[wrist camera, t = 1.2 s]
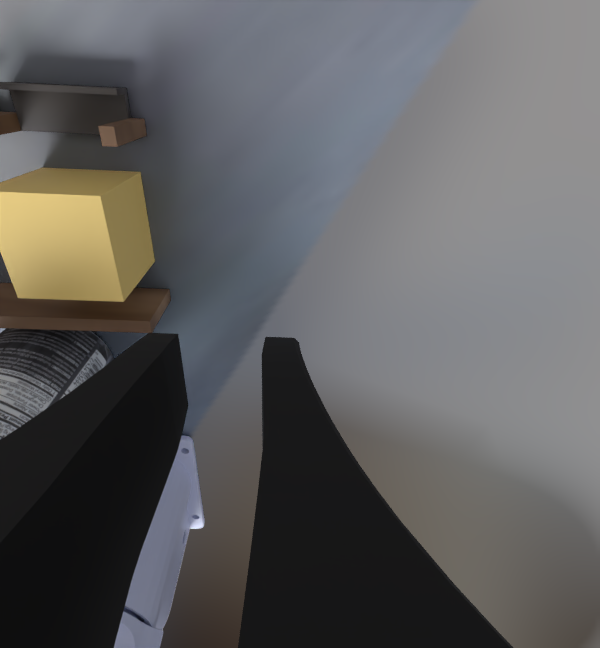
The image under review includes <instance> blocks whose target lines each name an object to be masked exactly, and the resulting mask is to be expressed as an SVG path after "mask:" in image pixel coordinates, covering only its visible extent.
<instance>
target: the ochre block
mask: <svg viewBox="0 0 600 648" xmlns="http://www.w3.org/2000/svg"><path fill="white" fill-rule="evenodd" d="M0 252H1V255H2V257H3V260H4V263H5V265H6V268H7V271H8V273H9V276H10V278H11V281H12V284H13V286H14V289H15V291H16V294H17V297H18V298H29V299H58V300H86V301H115V302H124V301H125V300H126V298H127V297H128V296H129V294H130V293H131V292H132V291H133V289H134V288H135V287H136V285H137V284H138V283H139V281H140V280H141V279H142V278H143V276H144V275H145V274H146V272H147V271H148V270H149V269H150V267H151V266H152V265H153V263H154V262H155V258H154V252H153V246H152V240H151V234H150V228H149V221H148V215H147V209H146V203H145V197H144V191H143V185H142V179H141V172H133V171H110V170H87V169H64V168H40V169H37V170H34V171H31V172H29V173H26V174H23V175H20V176H17V177H15V178H12V179H9V180H6V181H3V182H1V183H0Z"/></svg>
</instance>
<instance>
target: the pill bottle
mask: <svg viewBox="0 0 600 648" xmlns="http://www.w3.org/2000/svg"><path fill="white" fill-rule="evenodd" d="M112 360H114V357H113V355H112V353H111V351H110V350H109V348H108V347H107V346H106V344H105V343H104V342H103V341H102V340H101V339H100V338H99V337H98V336H97V335H95V334H94V333H93V332H91V331H75V330H46V329H16V328H6V329H5V330H4V331H3V332H1V333H0V440H1V439H2V438H4V437H5V436H7V435H8V434H10V433H11V432H13V431H15V430H16V429H18V428H19V427H21V426H22V425H23V424H25V423H26V422H28V421H29V420H31V419H32V418H34V417H35V416H37V415H38V414H39V413H41V412H42V411H44V410H45V409H47V408H48V407H50V406H51V405H52V404H54V403H55V402H57V401H58V400H60V399H61V398H63V397H64V396H66V395H67V394H68V393H70V392H71V391H73V390H74V389H75V388H77V387H78V386H79V385H81V384H82V383H83V382H85V381H86V380H87V379H89V378H90V377H91V376H93V375H94V374H95V373H97V372H98V371H99V370H101V369H102V368H103V367H105V366H106V365H107V364H109V363H110V362H111V361H112Z"/></svg>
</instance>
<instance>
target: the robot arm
mask: <svg viewBox="0 0 600 648" xmlns="http://www.w3.org/2000/svg"><path fill="white" fill-rule="evenodd" d="M187 409H188V401H187V394H186V387H185V380H184V373H183V366H182V359H181V352H180V345H179V338H178V334H161V333H149V334H147V335H146V336H144V337H143V338H141V339H140V340H139V341H137V342H136V343H135V344H133V345H132V346H131V347H129V348H128V349H127V350H125V351H124V352H123V353H122V354H120V355H119V356H118V357H116V358H115V359H114V360H112V361H111V362H110V363H109V364H107V365H106V366H105V367H103V368H102V369H101V370H99V371H98V372H97V373H95V374H94V375H93V376H91V377H90V378H89V379H87V380H86V381H85V382H83V383H82V384H81V385H79V386H78V387H77V388H75V389H74V390H73V391H71V392H70V393H68V394H67V395H66V396H64V397H63V398H61V399H60V400H58V401H57V402H55V403H54V404H52V405H51V406H50V407H48V408H47V409H45V410H44V411H42V412H41V413H39V414H38V415H37V416H35V417H34V418H32V419H31V420H29V421H28V422H26V423H25V424H23V425H22V426H21V427H19V428H18V429H16V430H15V431H13V432H11V433H10V434H8V435H7V436H5V437H4V438H2V439H1V440H0V648H160V644H161V640H162V636H163V630H162V629H163V627H164V625H165V623H166V621H167V618H168V615H169V613H170V609H171V605H172V600H173V596H174V592H175V588H176V584H177V580H178V575H179V571H180V567H181V563H182V559H183V554H184V550H185V546H186V542H187V538H188V534H189V529H200V528H202V527H203V526H204V522H205V519H204V512H203V505H202V498H201V491H200V485H199V477H198V471H197V463H196V456H195V449H194V442H193V439H192V438H191V437H189V436H182V431H183V427H184V423H185V418H186V413H187ZM262 422H263V423H262V424H263V425H262V428H263V429H262V431H263V452H262V461H261V471H260V478H259V488H258V496H257V504H256V512H255V521H254V529H253V538H252V545H251V553H250V561H249V569H248V576H247V584H246V591H245V600H244V607H243V614H242V622H241V630H240V637H239V645H238V648H513V647H512V646H511V645H510V644H509V643H508V642H507V641H506V640H505V639H504V637H503V636H502V635H501V634H500V633H499V632H498V631H497V630H496V629H495V628H494V627H493V626H492V625H491V624H490V623H489V621H488V620H487V619H486V618H485V617H484V616H483V615H482V614H481V613H480V612H479V611H478V609H477V608H476V607H475V606H474V605H473V604H472V603H471V602H470V601H469V600H468V599H467V598H466V597H465V596H464V594H463V593H461V591H460V590H459V589H458V588H457V587H456V586H455V585H454V583H453V582H452V581H451V580H450V579H449V578H448V577H447V575H446V574H445V573H444V572H443V571H442V569H441V568H440V567H439V566H438V565H437V563H436V562H435V561H434V560H433V559H432V558H431V556H430V555H429V554H428V553H427V552H426V550H425V549H424V548H423V547H422V546H421V544H420V543H419V542H418V541H417V540H416V539H415V538H414V536H413V535H412V534H411V533H410V531H409V530H408V529H407V528H406V527H405V526H404V525H403V523H402V522H401V521H400V520H399V518H398V517H397V516H396V514H395V513H394V512H393V510H392V509H391V508H390V507H389V505H388V504H387V502H386V501H385V500H384V498H383V497H382V496H381V495H380V493H379V492H378V491H377V489H376V488H375V486H374V485H373V484H372V482H371V481H370V479H369V478H368V477H367V475H366V474H365V472H364V471H363V470H362V468H361V467H360V465H359V464H358V462H357V461H356V459H355V458H354V456H353V455H352V453H351V452H350V450H349V448H348V447H347V445H346V443H345V442H344V440H343V438H342V437H341V435H340V433H339V432H338V430H337V429H336V427H335V425H334V423H333V422H332V420H331V418H330V416H329V414H328V413H327V411H326V409H325V407H324V405H323V403H322V401H321V399H320V397H319V395H318V393H317V391H316V389H315V387H314V385H313V383H312V380H311V378H310V376H309V373H308V371H307V368H306V366H305V363H304V360H303V357H302V354H301V351H300V347H299V342H298V341H297V340H296V339H295V338H281V337H266V338H265V342H264V347H263V352H262ZM185 448H186V449H185Z"/></svg>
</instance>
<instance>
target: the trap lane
mask: <svg viewBox="0 0 600 648" xmlns="http://www.w3.org/2000/svg"><path fill="white" fill-rule="evenodd" d="M0 89H8V90H9V91H10V94H11V97H12V101H13V104H14V107H15V111H16V112H0V135H1V134H7V133H12V132H17V131H39V132H60V133H80V134H100V137H101V142H102V146H111V147H118V146H121V145H124V144H126V143H129V142H131V141H134V140H137V139H139V138H142V137H145V136H147V133H146V127H145V120H144V119H142V118H131V113H130V107H129V101H128V94H127V88H118V87H98V86H79V85H60V84H40V83H21V82H0ZM170 301H171V297H170V290H169V289H155V288H134V289H133V291H132V292H131V293H130V294H129V296H128V297H127V298H126V300H125V301H124V302H115V301H86V300H58V299H29V298H18V297H17V294H16V291H15V289H14V286H13V284H12V283H0V328H16V329H46V330H75V331H105V332H135V333H152V332H153V330H154V329H155V327H156V325H157V323H158V322H159V320H160V318H161V316H162V315H163V313H164V311H165V309H166V308H167V306H168V304H169V302H170Z"/></svg>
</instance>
